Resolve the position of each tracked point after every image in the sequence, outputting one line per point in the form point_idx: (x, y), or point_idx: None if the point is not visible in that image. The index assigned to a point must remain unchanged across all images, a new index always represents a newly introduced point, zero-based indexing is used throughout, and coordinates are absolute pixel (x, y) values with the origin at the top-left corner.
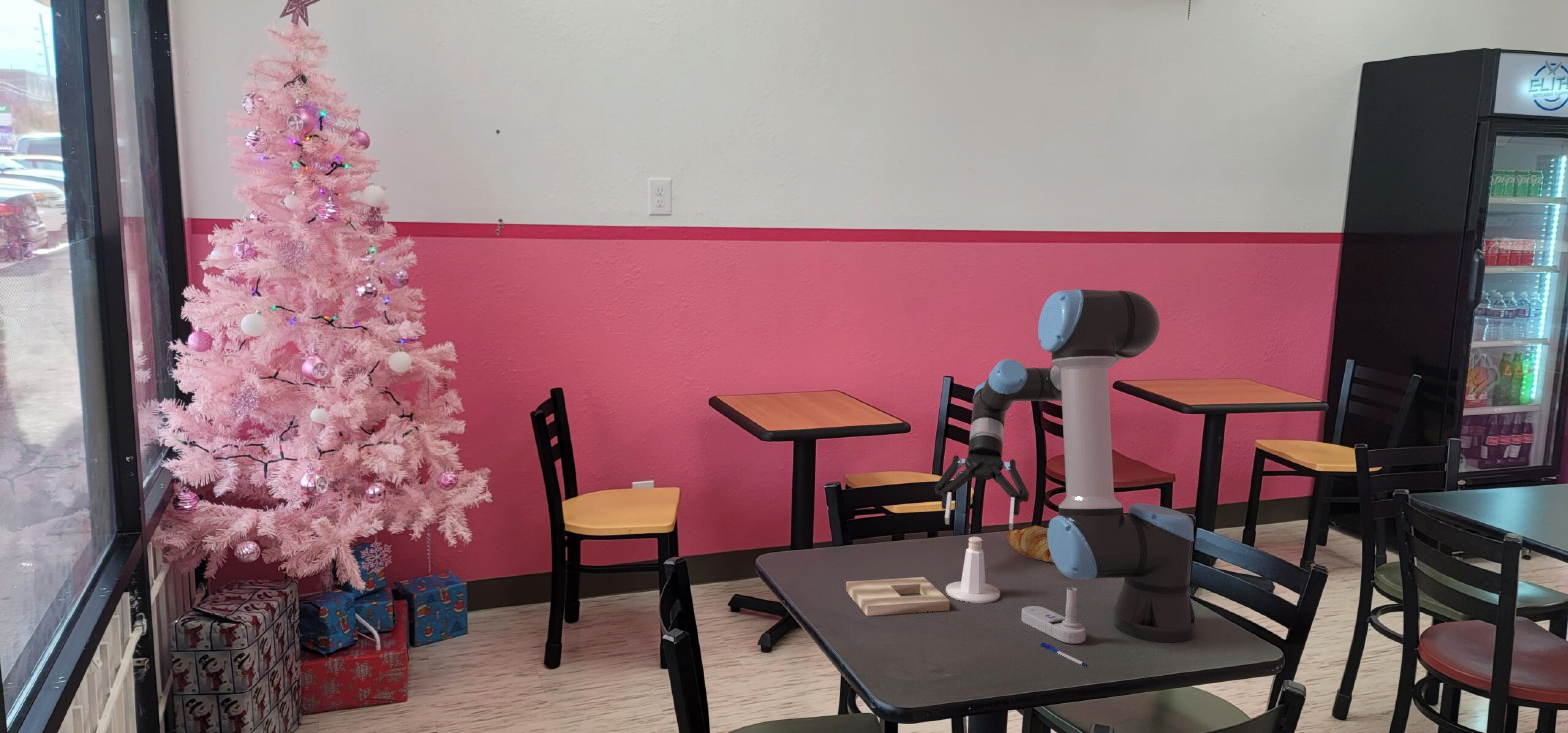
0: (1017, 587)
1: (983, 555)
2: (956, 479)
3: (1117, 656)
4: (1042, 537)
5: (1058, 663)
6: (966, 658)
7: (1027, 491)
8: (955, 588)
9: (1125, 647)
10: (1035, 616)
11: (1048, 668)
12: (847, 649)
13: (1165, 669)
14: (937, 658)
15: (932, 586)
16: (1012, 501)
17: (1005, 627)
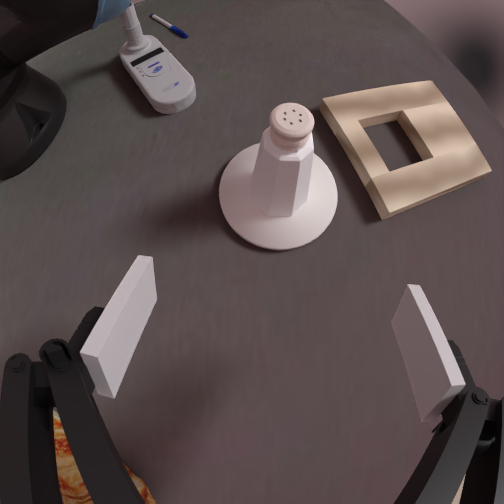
0: (173, 257)
1: (262, 135)
2: (456, 471)
3: (106, 41)
4: (84, 489)
5: (179, 12)
6: (283, 6)
7: (5, 373)
8: (317, 193)
9: (84, 63)
10: (178, 64)
11: (194, 4)
12: (405, 24)
13: (75, 36)
14: (314, 6)
15: (364, 159)
16: (99, 334)
17: (226, 69)
